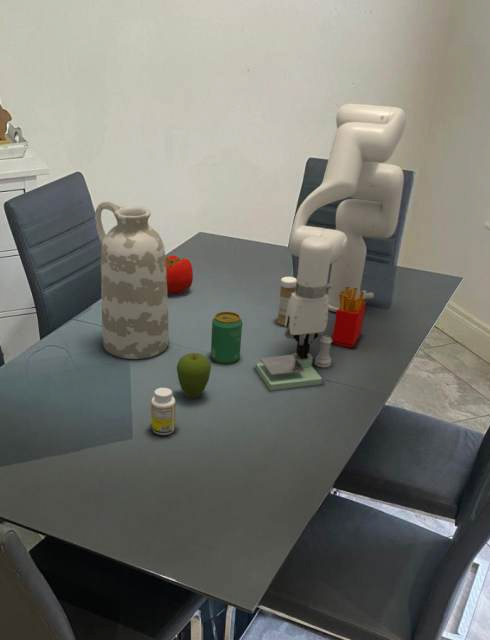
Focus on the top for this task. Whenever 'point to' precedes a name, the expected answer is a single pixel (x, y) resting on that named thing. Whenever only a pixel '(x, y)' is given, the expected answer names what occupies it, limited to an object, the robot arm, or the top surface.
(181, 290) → the tomato
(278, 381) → the scale
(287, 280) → the sprinkles bottle
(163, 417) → the supplement bottle
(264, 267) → the top surface
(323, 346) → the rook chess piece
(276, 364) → the scale pan
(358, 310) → the french fries container
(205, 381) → the apple
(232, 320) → the beverage can
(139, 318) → the vase
